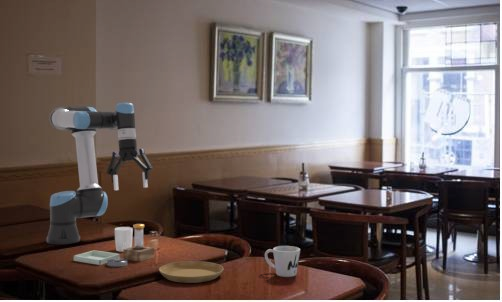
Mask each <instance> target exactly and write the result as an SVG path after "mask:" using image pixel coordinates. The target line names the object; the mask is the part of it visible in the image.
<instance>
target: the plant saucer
mask: <svg viewBox="0 0 502 302" xmlns="http://www.w3.org/2000/svg"><path fill="white" fill-rule="evenodd" d="M158 270H159V273H160V274H161V275H162V277H163V278H164V279H166V280H169V281H171V282H176V283H179V284H180V283H182V284H183V283H184V284H197V283H205V282H211V281H213V280H215V279H216V278H218V277H219V276H220V275H221V274H222V273H223V271H224V267H223V265H221V264H218V263H215V262H210V261H201V260H200V261H197V260H192V261H191V260H188V261H186V260H185V261H176V262H175V261H174V262H169V263H166V264H164V265H162V266H160V267H159V268H158Z"/></svg>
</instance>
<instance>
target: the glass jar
mask: <svg viewBox="0 0 502 302" xmlns="http://www.w3.org/2000/svg"><path fill="white" fill-rule="evenodd" d="M132 226H133V227H132V228H133V231H134V240H133V241H134V246H135V250H143V246H144V228H145V224H144V223H136V224H133V225H132Z"/></svg>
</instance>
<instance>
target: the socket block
mask: <svg viewBox="0 0 502 302" xmlns="http://www.w3.org/2000/svg"><path fill="white" fill-rule="evenodd" d="M153 258H155V247H150V246H145V245H143V250H135V245H134V246H133V245H132V247H130V248H127V249H123V257H122V259H127V260H128V261H133V262H143V261H148V260H149V259H153Z"/></svg>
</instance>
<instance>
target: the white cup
mask: <svg viewBox="0 0 502 302" xmlns="http://www.w3.org/2000/svg"><path fill="white" fill-rule="evenodd" d="M133 231H134V228H133V227H130V226H120V227H119V226H118V227H115V228H114V242H115V251H116V252H123V249H127V248H130V247H133Z"/></svg>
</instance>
